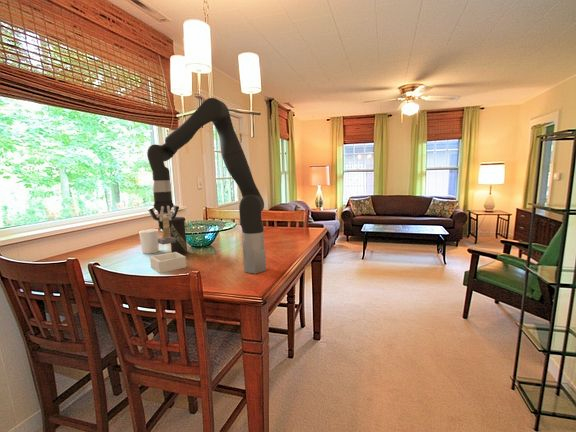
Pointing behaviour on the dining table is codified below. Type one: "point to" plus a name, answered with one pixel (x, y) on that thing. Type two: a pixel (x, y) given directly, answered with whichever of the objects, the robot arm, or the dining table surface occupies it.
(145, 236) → the candle holder
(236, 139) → the robot arm
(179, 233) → the container
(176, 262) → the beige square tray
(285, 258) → the dining table surface
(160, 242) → the tan column with base
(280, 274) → the dining table surface
